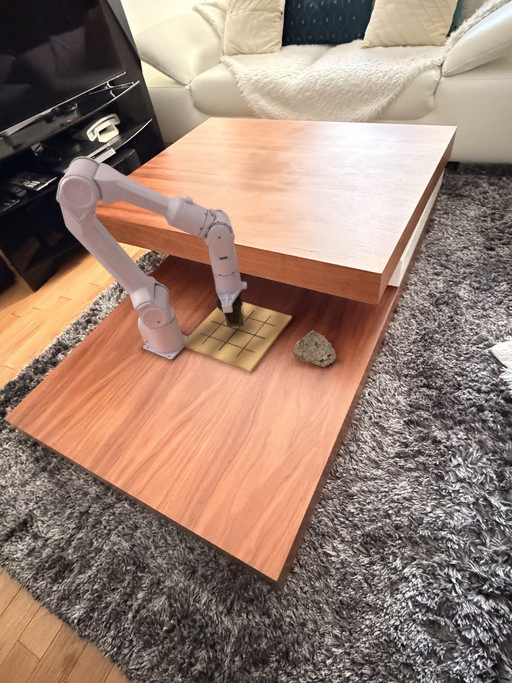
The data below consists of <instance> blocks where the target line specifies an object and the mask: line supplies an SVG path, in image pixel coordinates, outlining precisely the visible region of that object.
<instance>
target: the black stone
mask: <svg viewBox="0 0 512 683" xmlns="http://www.w3.org/2000/svg"><path fill="white" fill-rule="evenodd" d="M244 317H245V315H244V309H243V303H242V305H241V308H240V310H239V323H238V324H230V323H229V322H228V320H227V318H226V316H225V318H226V323H227V327H236V326H244Z"/></svg>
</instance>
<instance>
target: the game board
mask: <svg viewBox="0 0 512 683" xmlns="http://www.w3.org/2000/svg"><path fill="white" fill-rule="evenodd" d="M242 303H243V309H244V315H245V317H244V326H236V327H227V323H226V318H225V314H224V313H223V312H222V311H221V310H220V309H218V307H217V306H216V308H215V309H214V310H212V312H211V313H210V314H209V315H208V316H207V317H206V318H205V319H203V321H202V322H201V323H200V324H199V325H198V326H197V327H196V328H195V329H194V330H193V331H192V332H191V333H190V334H189V335H187V336H188V337H187V338H186V339H185V340H184V342H183V345H184V346H185V347H184V348H186V349H188V350H191V351H195V352H197V353H200V354H202V355H205V356H208V357H210V358H213V359H215V360H218V361H221V362H224V363H226V364H229V365H231V366H234V367H236V368H239V369H241V370H244V371H246V372H249V373H252V371H253V370H254V369H255V367H256V366H257V365H258V364H259V362H260V361H261V360H262V359H263V357H264V356H265V354H266V353H268V351H269V350H270V348H271V347H272V346H273V344H274V343H275V342H276V340H277V339H278V337H280V335H281V334H282V333H283V331H284V330H285V329H286V327H287V326H288V324H289V323H290V322H291V321H292V319H293V316H292V315H290V314H287V313H283V312H280V311H275V310H273V309H268V308H265V307H262V306H258V305H254V304H251V303H248V302H245V301H242Z"/></svg>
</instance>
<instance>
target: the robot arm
mask: <svg viewBox="0 0 512 683" xmlns="http://www.w3.org/2000/svg"><path fill="white" fill-rule="evenodd" d="M55 200H56V201H57V203H59V206H60V209H61V213H62V217H63V220H64V224H65V227H66V228H67V230H68V231H69V232H70V233H71V234H72V235H73V236H74V237H75V238H76V240H77V241H79V243H80V244H81V245H82V246H83V247H84V248H85V249H86V250H87V251H88V252H89V253H90V254H91V255H92V256H93V257H94V259H95V260H96V261H97V262H98V263H99V264H100V265H101V266H102V267H103V268H104V269H105V270H106V271H107V272H108V274H109V275H111V277H112V278H113V279H114V280H115V281H116V282H117V284H119V286H121V288H123V289H124V290H125V292H126V293H127V294H128V295H129V297H130V301H131V302H132V303H131V304H132V307H133V309H134V310H135V312H137V313H138V316H139V317H138V319H137V328H138V331H139V333H140V335H141V339H142V340H143V342H144V344H143V346H142V348H143V349H144V350H146V351H148V352H151V353H153V354H156V355H157V356H161V357H163V358H166V359H168V360H173V359H174V358H175V357H177V355H178V354H179V353H180V352H182V350H183V349H184V348H186V347H185V346H184V345H183V342H184V340H185V339H186V338H187V337H188V336H189V335H186V334H183V333H182V330H181V327H180V324H179V321H178V318H177V315H176V312H175V309H174V308H173V306H171V305H170V297H171V293H170V292H171V291H170V290H169V288H168V287H167V286H166V285H165V284H163V283H161V282H158V281H157V280H156V278H154V277H153V276H147V275H146V274H145V272H144V271H143V270H142V268H140V267H139V265H138V264H137V263H136V262H135V261H134V259H133V258H132V257H131V256H130V255H129V254H128V253H127V251H125V249H124V248H123V247H122V246H121V245H120V243H119V242H118V241H117V240H116V238H114V236H113V235H112V234H111V233H110V232H109V230H108V229H107V228H106V227H105V225H103V223H101V221H100V220H99V219H98V217H97V210H98V204H99V202H100V200H102V207H107V206H109V205H113V204H115V203H118V202H124V203H127V204H130V205H133V206H135V207H138V208H140V209H144V210H147V211H149V212H152V213H154V214H157V215H160V216H163V217H164V218H165V220H166V222H167V224H168V225H169V226H170V227H173V228H175V229H177V230H179V231H182V232H184V233H186V234H188V235H189V234H190V235H191V236H194V237H196V238H199V239H202V240H203V241H204V243H205V245H206V246H207V247H208V257H209V261H210V262H209V263H210V266H211V270H212V275H213V280H214V285H215V288H214V289H215V292H216V294H217V297H218V298H219V299H217V300H216V308H217V307H218V309H220V310H221V311H222V312H223V313H224V314H225V316H226V318H227V320H228V322H229V323H230V324H238V323H239V310H240V308H241V305H242V302H243V299H241V296H242V292H243V290H246V289H248V283H247V281H243V280H242V279H241V278H242V277H241V272H240V266H239V260H238V254H237V249H236V246H235V239H236V238H235V237H236V234H235V233H234V229H233V225H232V220H231V219H230V217H229V215H228V214H227V213H226V212H225V211H223V210H222V209H220V208H215V209H214V208H211V207H210V208H207V207H204V206H202V205H200V204H198V203H195V202H194V200H193V198H192V197H190V196H188V195H186V196H185V197H182V196H180V195H178V196H174V197H171V198H170V197H168V196H165V195H164V194H162V193H159V192H158V191H156V190H154V189H153V188H150V187H148V186H146V185H145V184H142V183H140V182H138V181H136V180H135V179H133V178H131V177H129V176H127V175H125V174H123V173H121V172H119V171H118V170H116V169H115V168H113V167H112V166H110V165H109V164H107V163H103V162H100V163H99V162H98V161H97V160H96V159H94V158H92V157H89V156H77V157H75V158H73V159H72V160H71V162H70V163H69V166H68V168H67V170H66V171H65V173H64V176H62V177H61V179H60V180H59V182H58V186H57V191H56V197H55Z"/></svg>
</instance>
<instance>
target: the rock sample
mask: <svg viewBox="0 0 512 683" xmlns="http://www.w3.org/2000/svg"><path fill="white" fill-rule="evenodd" d="M332 346H333V345H332V343H331V342H329V340H328V339H327V338H326V337H325V336H324V335H322V334H321V333H318V332H316V331H315V330H311V331H310V332H308V333H307V334H305V335H304V336H303V337H302V338H299V339H298V340H297V341H296V343H295V344H294V346H293V349H292V353H291V357H293V358H297V359H298V360H299V361H301V362H305V363H309V364H310V363H311V364H312V365H315V366H317V367H318V366H319V367H322V368H325V367H327V366H329V365H331V364H333V363H334V362H335V361H336V358H337V355H338V354H337V352H336V350H335V349H334V347H332Z"/></svg>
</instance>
